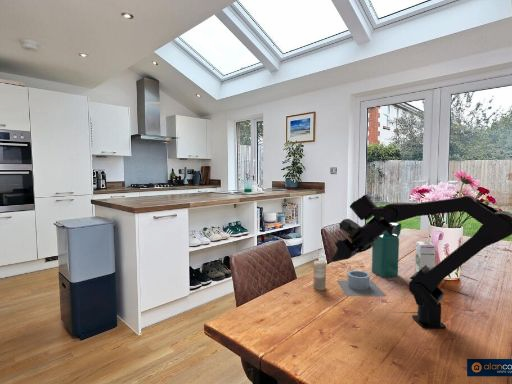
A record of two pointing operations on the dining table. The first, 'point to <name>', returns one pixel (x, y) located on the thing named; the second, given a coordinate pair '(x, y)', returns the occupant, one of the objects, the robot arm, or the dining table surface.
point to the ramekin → (358, 280)
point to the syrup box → (424, 255)
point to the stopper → (319, 275)
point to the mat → (372, 290)
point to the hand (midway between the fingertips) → (339, 257)
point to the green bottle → (386, 253)
